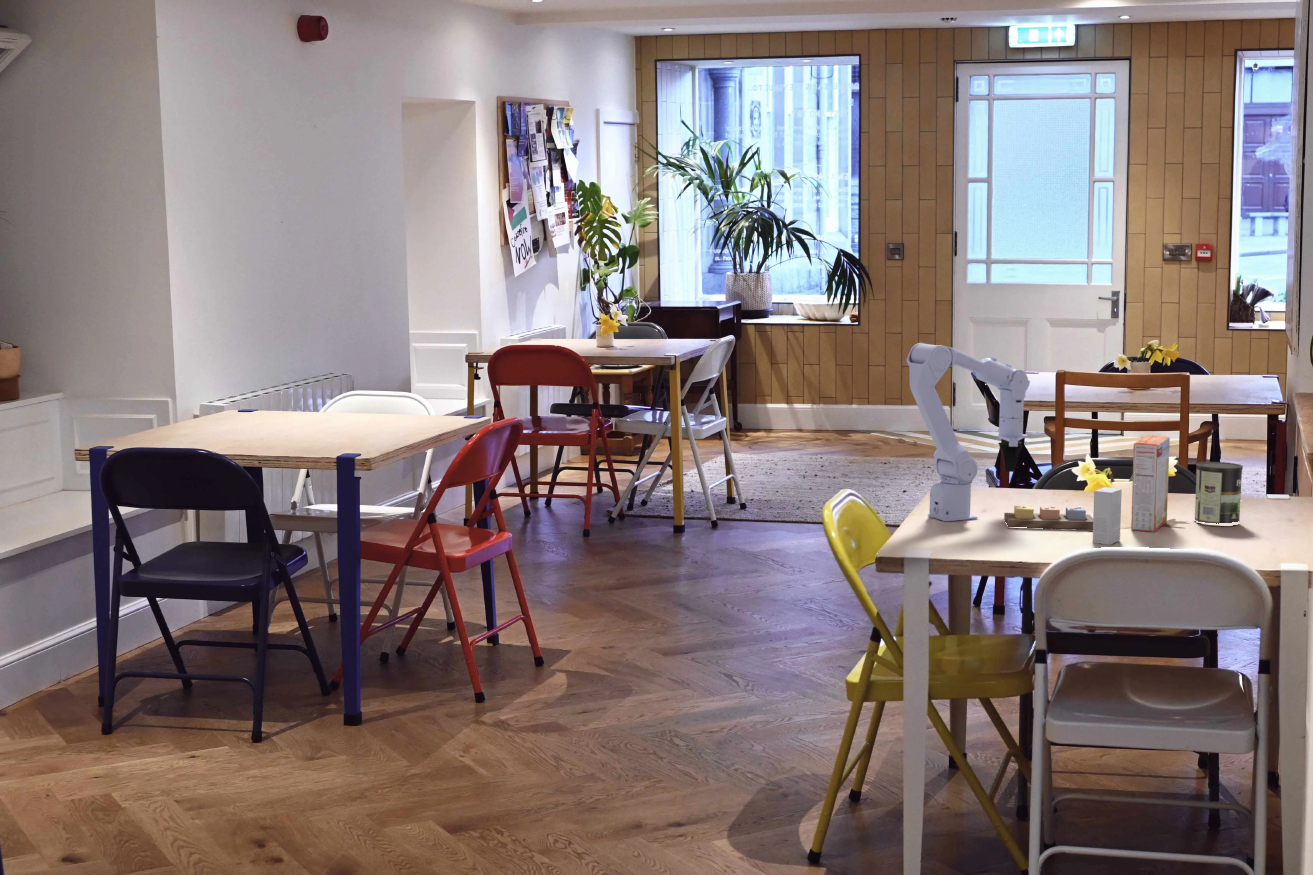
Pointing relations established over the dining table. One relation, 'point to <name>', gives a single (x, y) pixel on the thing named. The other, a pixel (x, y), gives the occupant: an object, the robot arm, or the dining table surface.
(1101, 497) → the skincare box
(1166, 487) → the cracker box
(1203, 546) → the dining table surface
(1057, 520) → the brown flat board
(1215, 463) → the coffee can
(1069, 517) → the light blue cube
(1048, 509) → the two dot tile
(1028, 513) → the yellow cube
